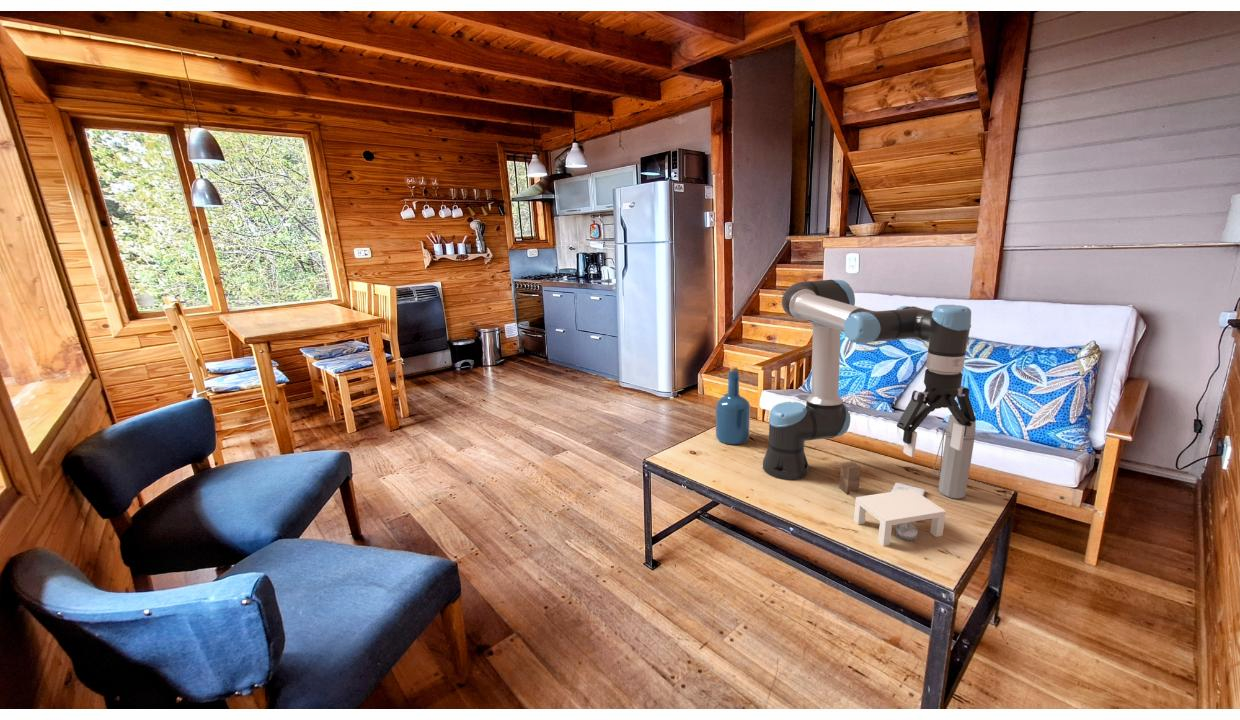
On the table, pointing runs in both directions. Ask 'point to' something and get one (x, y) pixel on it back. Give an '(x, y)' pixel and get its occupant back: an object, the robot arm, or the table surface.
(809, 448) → the table surface
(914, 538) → the steel puck
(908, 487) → the external hard drive
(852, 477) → the walnut paddle
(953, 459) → the water bottle
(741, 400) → the wine bottle
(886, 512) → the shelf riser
